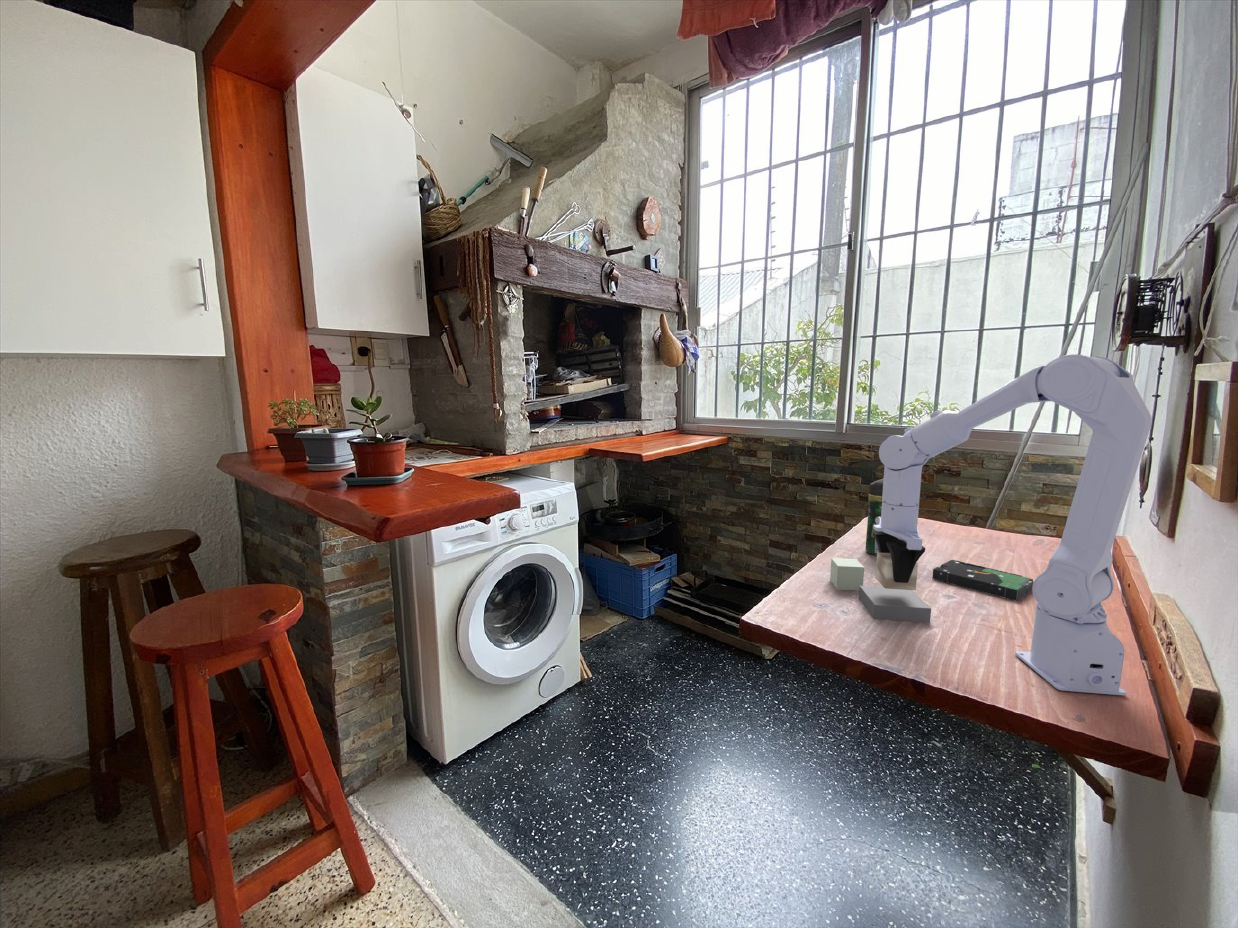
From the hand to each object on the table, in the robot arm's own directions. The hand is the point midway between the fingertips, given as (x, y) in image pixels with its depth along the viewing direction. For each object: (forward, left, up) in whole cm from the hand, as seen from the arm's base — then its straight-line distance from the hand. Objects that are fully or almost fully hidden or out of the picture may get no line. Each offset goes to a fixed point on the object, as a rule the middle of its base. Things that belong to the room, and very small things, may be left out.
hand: (894, 576), depth 89 cm
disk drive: (+16, -23, -7) cm, 29 cm away
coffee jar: (+35, -10, -7) cm, 37 cm away
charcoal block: (0, 0, -7) cm, 7 cm away
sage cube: (+11, +5, -6) cm, 14 cm away
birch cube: (0, 0, -2) cm, 2 cm away
